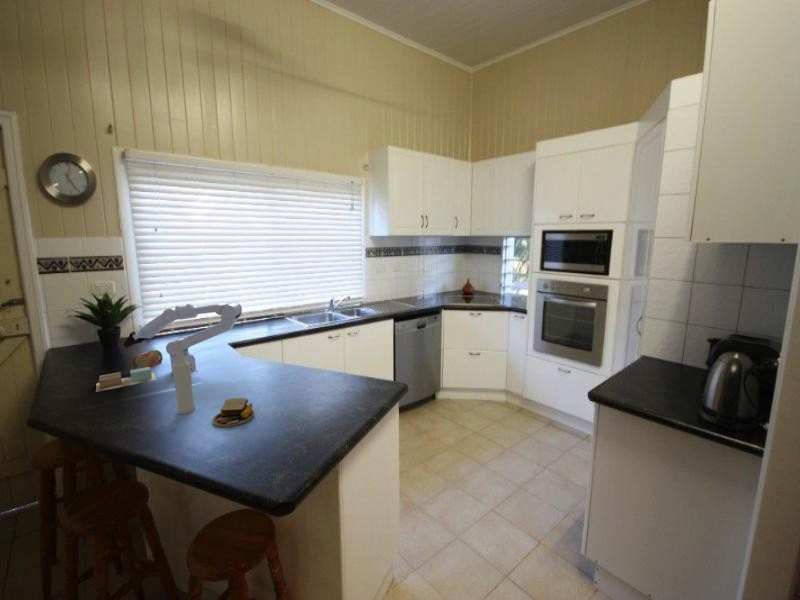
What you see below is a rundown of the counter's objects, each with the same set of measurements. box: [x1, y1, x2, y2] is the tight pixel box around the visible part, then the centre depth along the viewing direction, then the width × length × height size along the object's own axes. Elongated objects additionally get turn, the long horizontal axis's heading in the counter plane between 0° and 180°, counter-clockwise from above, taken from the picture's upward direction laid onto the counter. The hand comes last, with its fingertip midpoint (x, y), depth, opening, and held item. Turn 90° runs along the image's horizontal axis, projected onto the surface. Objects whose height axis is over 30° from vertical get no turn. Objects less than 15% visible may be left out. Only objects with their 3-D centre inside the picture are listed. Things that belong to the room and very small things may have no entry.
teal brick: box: [129, 367, 152, 382], centre depth 160 cm, size 5×7×4 cm
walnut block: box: [98, 371, 123, 389], centre depth 154 cm, size 7×7×4 cm
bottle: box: [172, 339, 196, 415], centre depth 128 cm, size 5×5×25 cm
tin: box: [130, 349, 163, 370], centre depth 175 cm, size 15×3×8 cm, turn 168°
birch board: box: [95, 372, 157, 393], centre depth 157 cm, size 20×12×1 cm, turn 127°
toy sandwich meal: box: [211, 397, 255, 428], centre depth 123 cm, size 12×14×5 cm
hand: (130, 343), depth 166 cm, fingers open, 7 cm apart
